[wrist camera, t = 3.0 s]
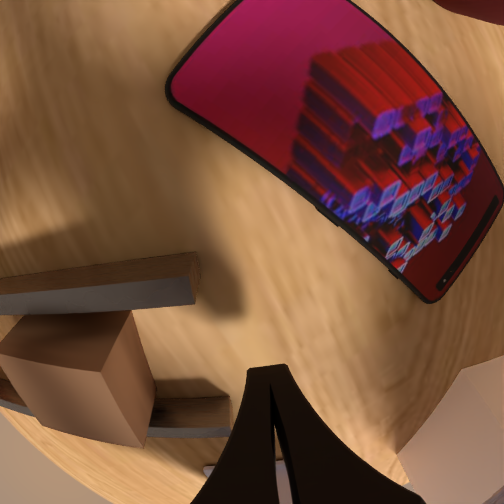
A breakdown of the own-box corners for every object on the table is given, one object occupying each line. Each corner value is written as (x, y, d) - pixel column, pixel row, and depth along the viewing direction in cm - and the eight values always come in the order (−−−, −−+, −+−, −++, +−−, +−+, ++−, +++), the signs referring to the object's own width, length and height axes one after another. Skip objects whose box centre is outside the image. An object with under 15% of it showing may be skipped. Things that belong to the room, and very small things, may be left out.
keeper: (132, 308, 11) (100, 372, 7) (157, 386, 13) (143, 448, 9) (34, 305, 11) (-8, 351, 7) (66, 376, 13) (42, 425, 9)
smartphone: (286, -42, 6) (509, 194, 10) (282, -31, 7) (498, 190, 10) (151, 96, 8) (431, 312, 12) (158, 100, 9) (423, 303, 12)
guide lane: (196, 251, 10) (170, 338, 6) (232, 406, 14) (235, 487, 9) (-59, 287, 10) (-97, 321, 5) (-8, 383, 13) (-32, 422, 8)
